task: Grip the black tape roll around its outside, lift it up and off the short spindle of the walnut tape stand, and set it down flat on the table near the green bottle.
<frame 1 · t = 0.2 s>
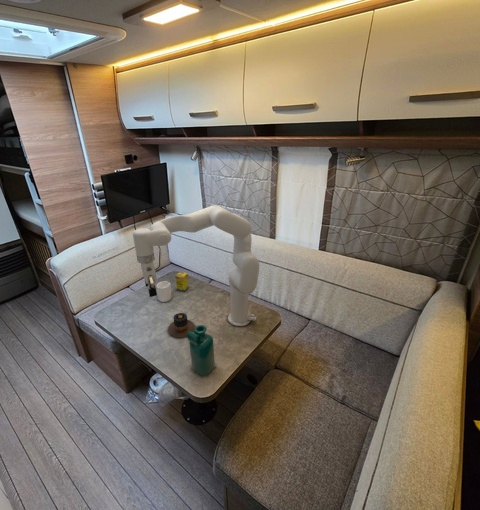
hand: (151, 290, 127), 31 cm above the table, tool pointing down, fingers open, 9 cm apart
green bottle: (202, 368, 125), on the table
tape stand: (181, 329, 149), on the table
tape roll: (180, 323, 148), point 4 cm above the table, touching tape stand
mug: (166, 297, 178), on the table
supplement box: (182, 289, 187), on the table
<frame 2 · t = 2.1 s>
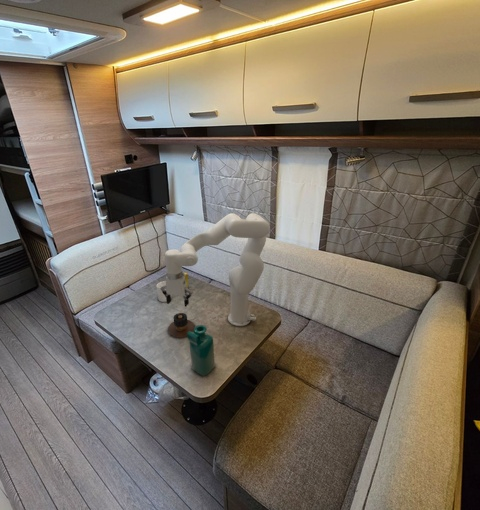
hand: (177, 303, 142), 16 cm above the table, tool pointing down, fingers open, 9 cm apart
nothing on the table moved.
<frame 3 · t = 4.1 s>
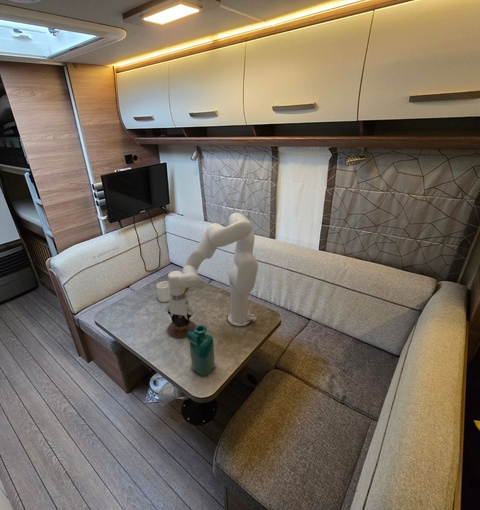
hand: (180, 322, 148), 4 cm above the table, tool pointing down, fingers closed on tape roll, 7 cm apart
tape roll: (180, 323, 148), point 4 cm above the table, touching gripper, tape stand
everything else where it was.
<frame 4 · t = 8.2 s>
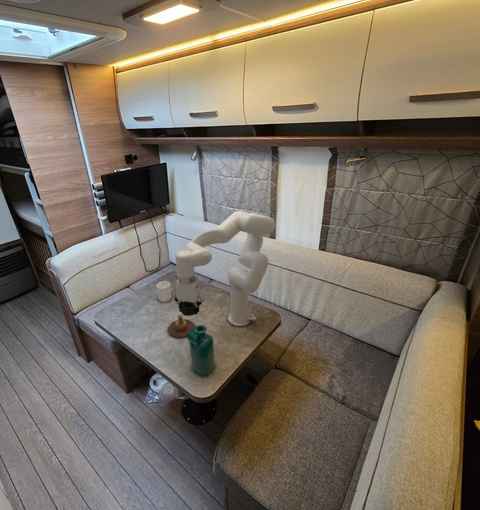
hand: (189, 311, 130), 20 cm above the table, tool pointing down, fingers closed on tape roll, 7 cm apart
tape roll: (189, 311, 130), point 20 cm above the table, touching gripper
everything else where it was.
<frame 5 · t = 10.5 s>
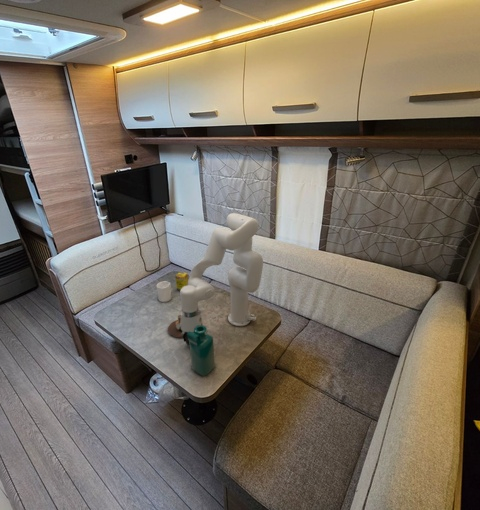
hand: (192, 341, 136), 3 cm above the table, tool pointing down, fingers closed on tape roll, 7 cm apart
tape roll: (192, 341, 136), point 3 cm above the table, touching gripper
everything else where it was.
when the fingers open (0 cm above the table, at t = 12.1 s): tape roll stays where it is, on the table.
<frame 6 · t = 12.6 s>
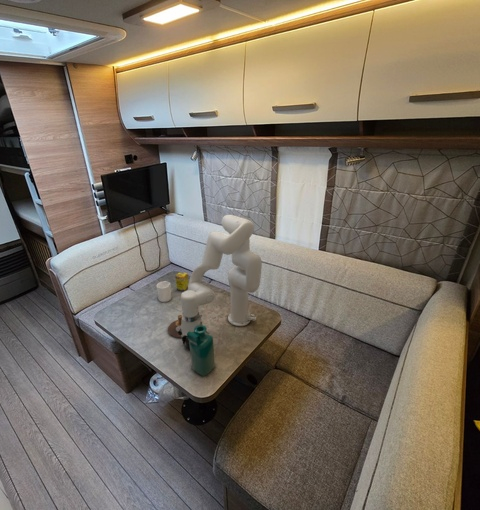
hand: (193, 343, 137), 1 cm above the table, tool pointing down, fingers open, 9 cm apart
tape roll: (193, 345, 137), on the table
everything else where it was.
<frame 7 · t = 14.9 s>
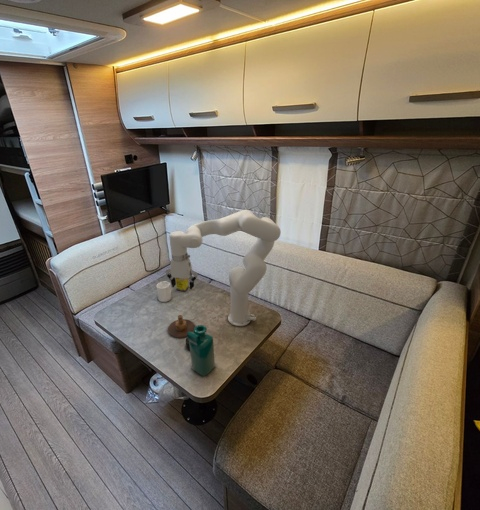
hand: (182, 286, 142), 25 cm above the table, tool pointing down, fingers open, 9 cm apart
nothing on the table moved.
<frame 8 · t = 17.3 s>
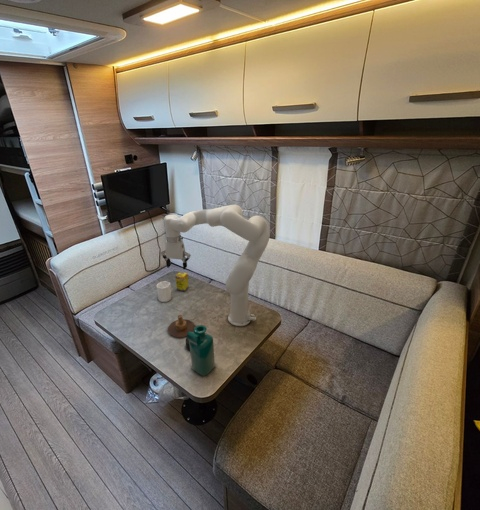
hand: (176, 267, 153), 28 cm above the table, tool pointing down, fingers open, 9 cm apart
nothing on the table moved.
at the end: tape roll inside the target area (0.2 cm from its centre), on the table; tape roll tilted 0°; tape roll 14.9 cm from the green bottle (horizontally) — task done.
